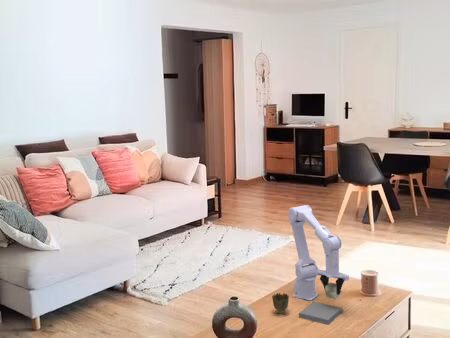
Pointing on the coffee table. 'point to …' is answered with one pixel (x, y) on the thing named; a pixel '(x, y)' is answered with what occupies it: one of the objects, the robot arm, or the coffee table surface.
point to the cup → (280, 302)
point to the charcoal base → (320, 312)
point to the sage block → (331, 290)
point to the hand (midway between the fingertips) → (332, 292)
